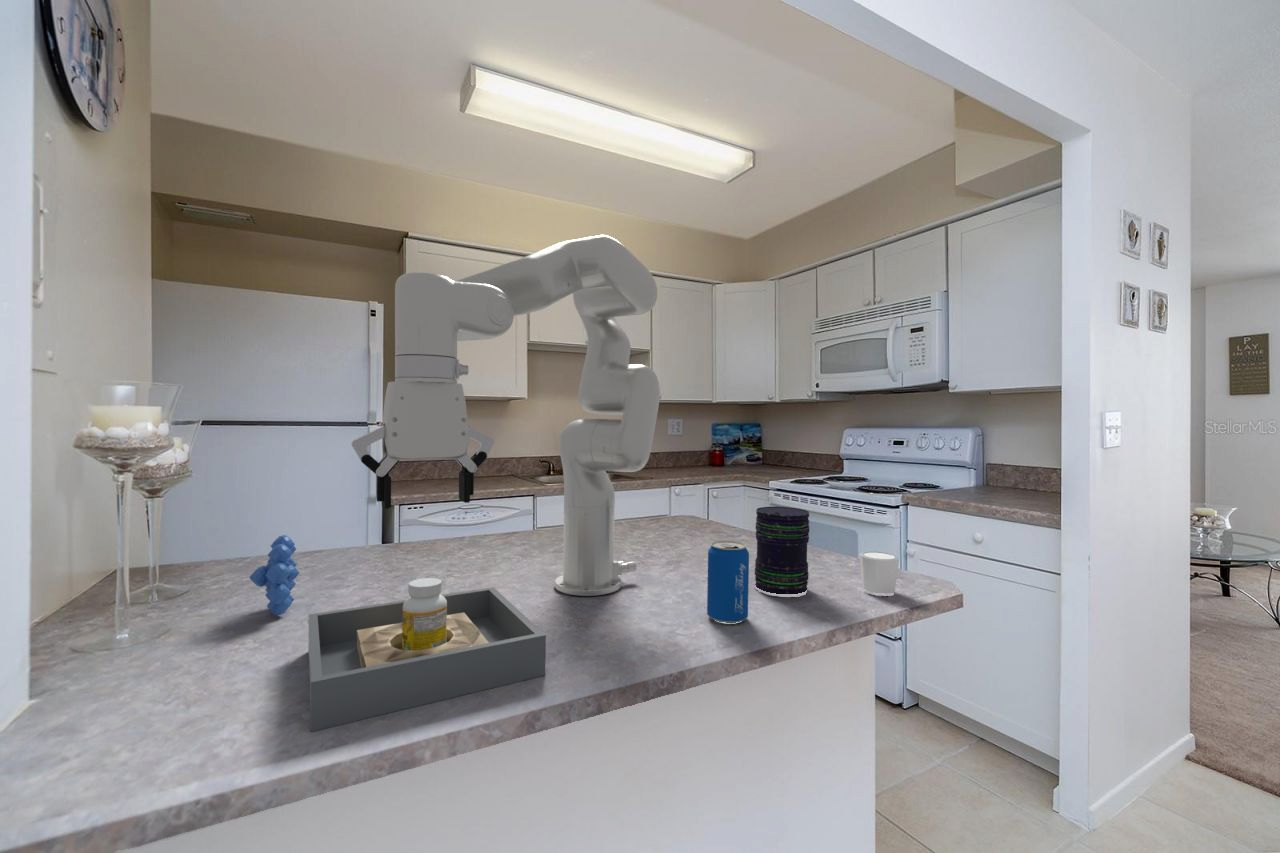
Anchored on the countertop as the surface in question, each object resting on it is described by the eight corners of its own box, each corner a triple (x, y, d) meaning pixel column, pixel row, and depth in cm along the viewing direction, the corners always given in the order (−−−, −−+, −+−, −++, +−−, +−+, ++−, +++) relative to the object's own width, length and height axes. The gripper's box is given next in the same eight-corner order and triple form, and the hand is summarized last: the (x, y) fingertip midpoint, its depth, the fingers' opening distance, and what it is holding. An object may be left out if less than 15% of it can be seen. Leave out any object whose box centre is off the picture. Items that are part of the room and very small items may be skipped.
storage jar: (766, 579, 112) (768, 504, 112) (815, 588, 106) (817, 510, 106) (745, 591, 104) (747, 511, 104) (796, 601, 98) (798, 517, 98)
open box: (493, 618, 88) (493, 587, 88) (545, 675, 69) (545, 635, 69) (308, 651, 75) (308, 614, 75) (310, 731, 56) (310, 682, 56)
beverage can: (722, 629, 85) (724, 550, 85) (699, 615, 91) (700, 542, 90) (756, 622, 88) (757, 546, 88) (731, 609, 94) (732, 538, 93)
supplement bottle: (445, 662, 70) (446, 586, 70) (399, 667, 69) (400, 590, 68) (447, 645, 75) (448, 575, 75) (404, 649, 74) (405, 577, 74)
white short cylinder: (900, 591, 105) (901, 554, 105) (895, 600, 100) (896, 561, 99) (862, 584, 109) (863, 549, 109) (854, 593, 103) (855, 556, 103)
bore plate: (464, 628, 82) (464, 612, 81) (492, 665, 69) (492, 646, 69) (356, 647, 74) (356, 630, 74) (366, 693, 62) (367, 672, 62)
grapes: (255, 603, 93) (255, 532, 93) (302, 598, 96) (303, 529, 96) (242, 627, 83) (242, 546, 83) (295, 620, 86) (295, 543, 86)
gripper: (485, 376, 80) (484, 495, 80) (349, 370, 71) (349, 505, 71) (501, 373, 73) (500, 503, 74) (354, 366, 64) (354, 514, 65)
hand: (426, 504), depth 72 cm, fingers open, 9 cm apart
